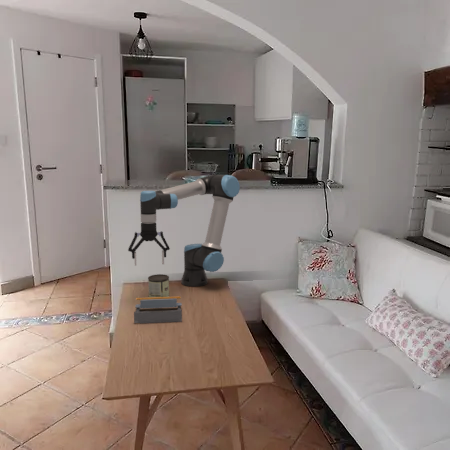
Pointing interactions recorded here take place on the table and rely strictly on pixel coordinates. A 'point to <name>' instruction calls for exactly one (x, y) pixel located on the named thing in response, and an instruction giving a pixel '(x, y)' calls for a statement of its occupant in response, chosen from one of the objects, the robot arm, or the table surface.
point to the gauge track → (158, 316)
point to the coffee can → (158, 285)
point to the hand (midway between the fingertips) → (149, 264)
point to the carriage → (158, 302)
